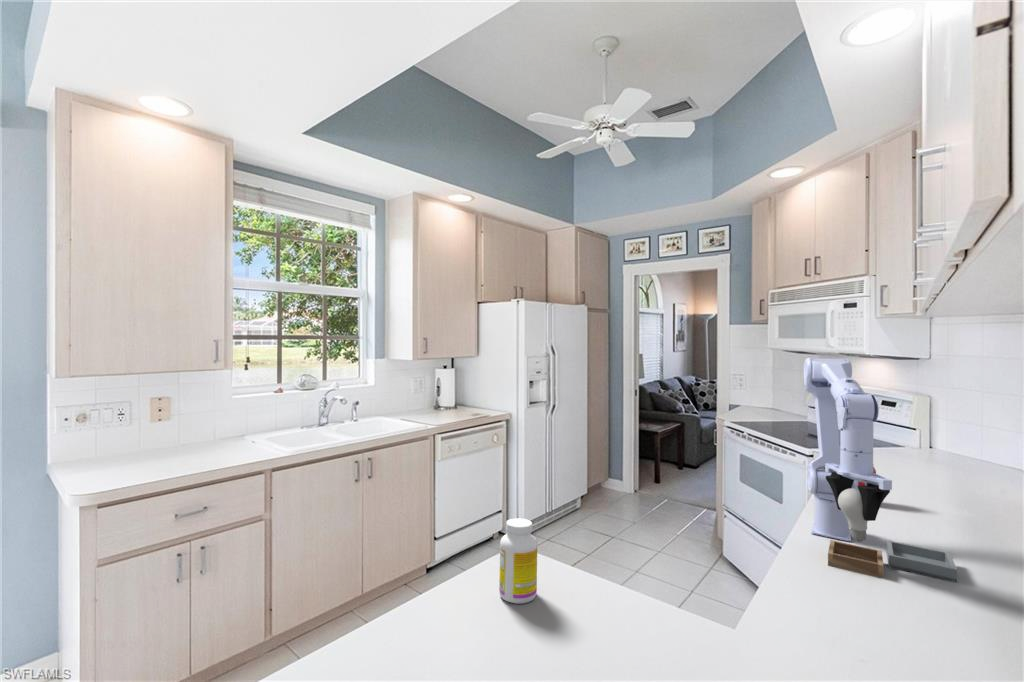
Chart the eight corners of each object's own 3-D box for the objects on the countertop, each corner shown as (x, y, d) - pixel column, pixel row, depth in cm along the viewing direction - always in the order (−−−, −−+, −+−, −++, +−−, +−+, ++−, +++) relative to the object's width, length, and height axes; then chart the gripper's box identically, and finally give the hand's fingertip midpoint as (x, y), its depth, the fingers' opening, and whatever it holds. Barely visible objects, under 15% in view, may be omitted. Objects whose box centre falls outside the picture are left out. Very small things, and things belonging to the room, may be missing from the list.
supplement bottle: (543, 593, 86) (545, 521, 86) (523, 609, 80) (525, 532, 80) (512, 582, 89) (514, 513, 90) (491, 597, 84) (493, 523, 84)
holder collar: (830, 551, 108) (830, 540, 108) (881, 562, 102) (881, 550, 102) (827, 565, 100) (827, 553, 100) (883, 578, 95) (883, 565, 95)
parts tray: (886, 551, 109) (886, 540, 109) (949, 564, 102) (949, 552, 103) (888, 567, 100) (888, 555, 100) (957, 582, 94) (957, 569, 94)
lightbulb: (845, 545, 100) (839, 491, 100) (839, 535, 105) (833, 484, 106) (881, 548, 97) (875, 493, 98) (873, 537, 103) (867, 485, 103)
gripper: (813, 443, 109) (812, 504, 108) (870, 458, 94) (869, 527, 94) (840, 443, 110) (840, 503, 109) (901, 457, 95) (900, 526, 95)
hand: (855, 514), depth 102 cm, fingers closed on lightbulb, 6 cm apart
